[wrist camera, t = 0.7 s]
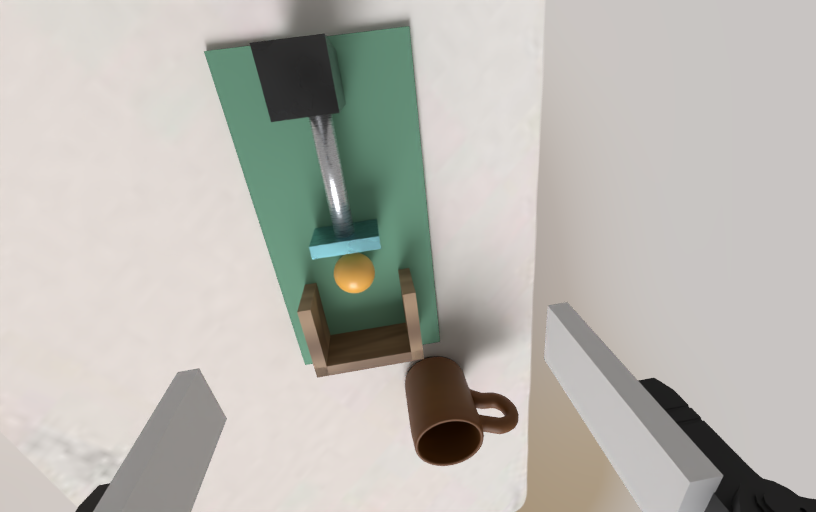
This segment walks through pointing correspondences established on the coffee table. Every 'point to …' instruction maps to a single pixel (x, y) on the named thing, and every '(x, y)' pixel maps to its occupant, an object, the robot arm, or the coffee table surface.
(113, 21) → the coffee table surface
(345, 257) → the ball
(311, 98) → the rod
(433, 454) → the mug
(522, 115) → the coffee table surface
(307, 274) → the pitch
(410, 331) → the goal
